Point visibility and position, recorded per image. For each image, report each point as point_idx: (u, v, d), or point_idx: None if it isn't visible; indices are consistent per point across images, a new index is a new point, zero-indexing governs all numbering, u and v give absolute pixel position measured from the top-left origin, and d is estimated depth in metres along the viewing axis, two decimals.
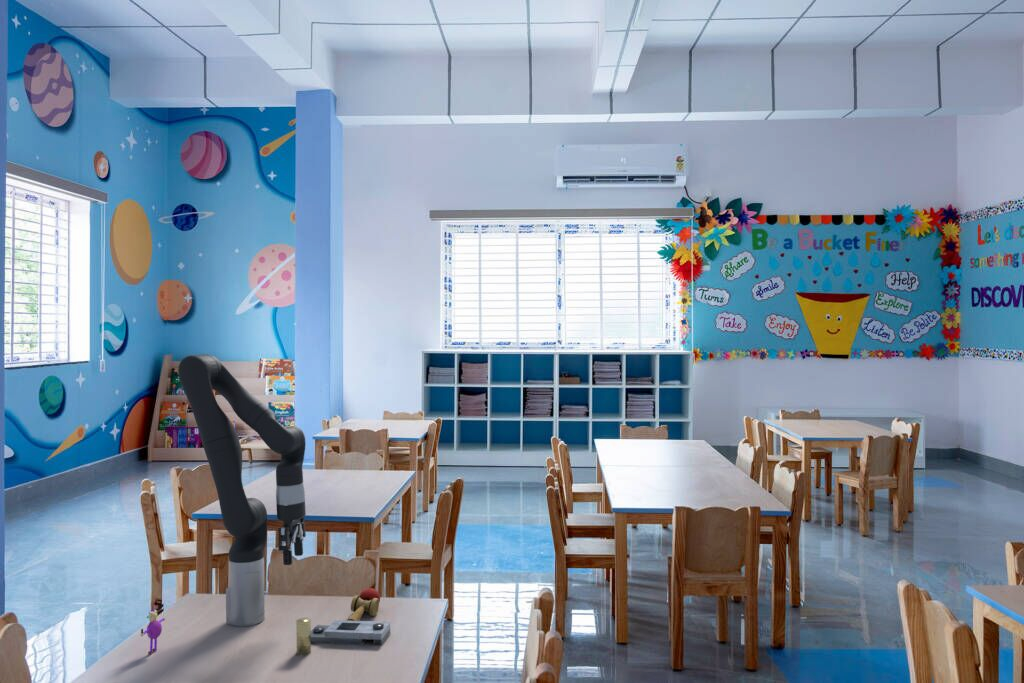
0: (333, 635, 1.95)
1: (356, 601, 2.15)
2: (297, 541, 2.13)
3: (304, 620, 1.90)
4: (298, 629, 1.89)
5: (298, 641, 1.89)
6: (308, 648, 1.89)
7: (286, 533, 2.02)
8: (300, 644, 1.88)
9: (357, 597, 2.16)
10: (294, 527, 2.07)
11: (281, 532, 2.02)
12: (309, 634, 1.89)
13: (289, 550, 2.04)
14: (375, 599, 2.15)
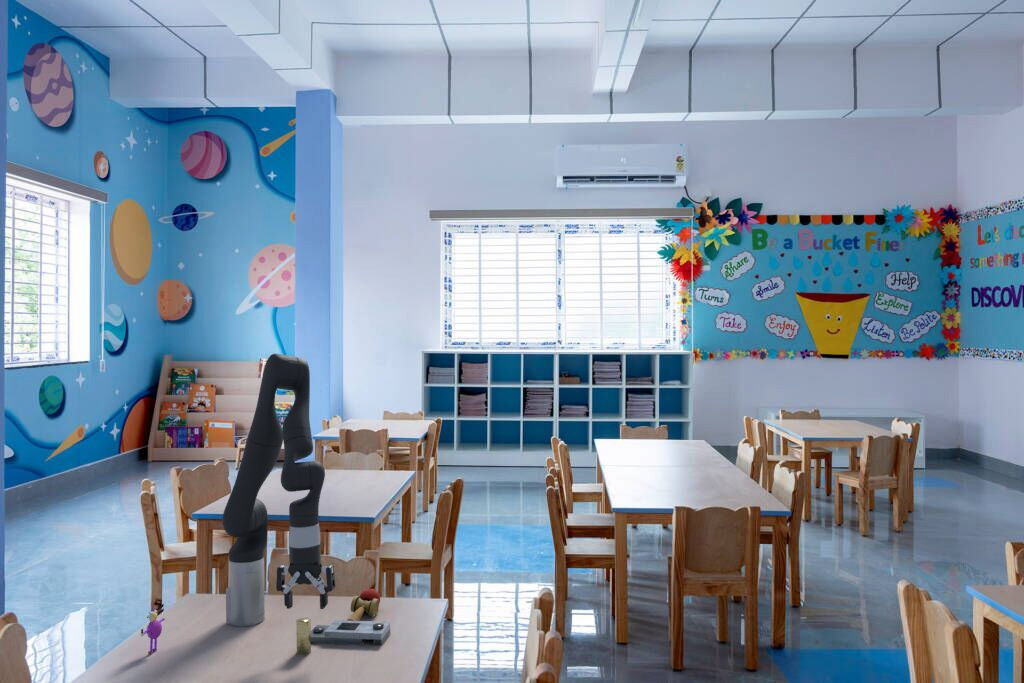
0: (333, 635, 1.95)
1: (356, 602, 2.14)
2: (290, 591, 1.91)
3: (304, 620, 1.90)
4: (298, 629, 1.89)
5: (298, 641, 1.89)
6: (308, 648, 1.89)
7: (333, 570, 1.91)
8: (300, 644, 1.88)
9: (357, 597, 2.15)
10: None
11: (331, 571, 1.89)
12: (309, 634, 1.89)
13: None
14: (375, 600, 2.15)
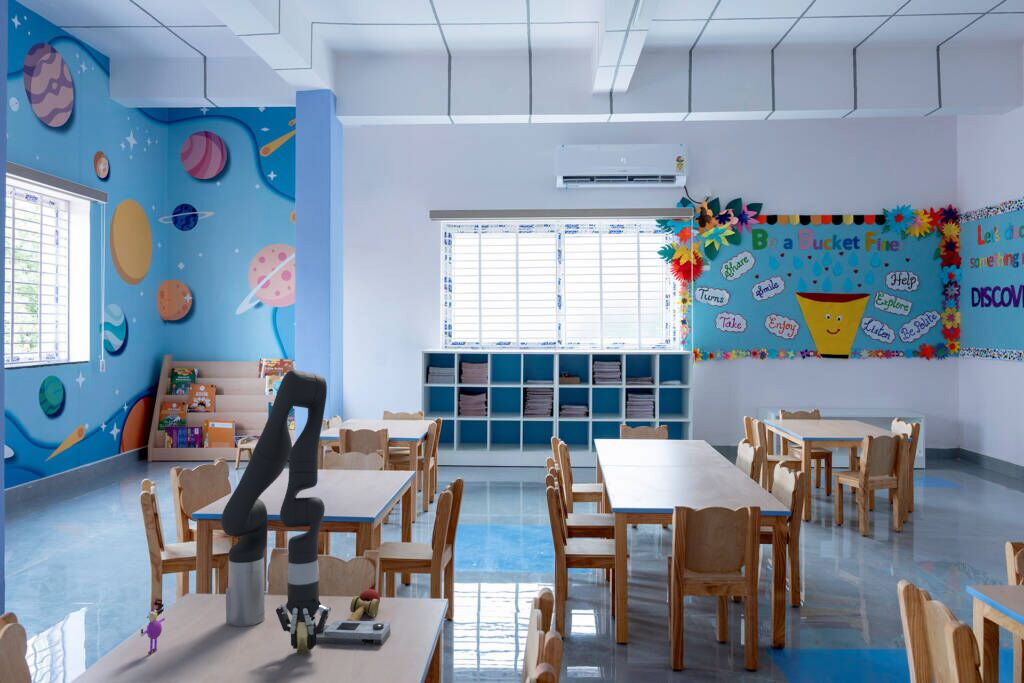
0: (333, 635, 1.95)
1: (356, 602, 2.14)
2: None
3: None
4: (298, 629, 1.89)
5: (298, 641, 1.89)
6: None
7: None
8: (299, 644, 1.88)
9: (357, 598, 2.15)
10: None
11: (327, 614, 1.89)
12: None
13: None
14: (375, 600, 2.14)
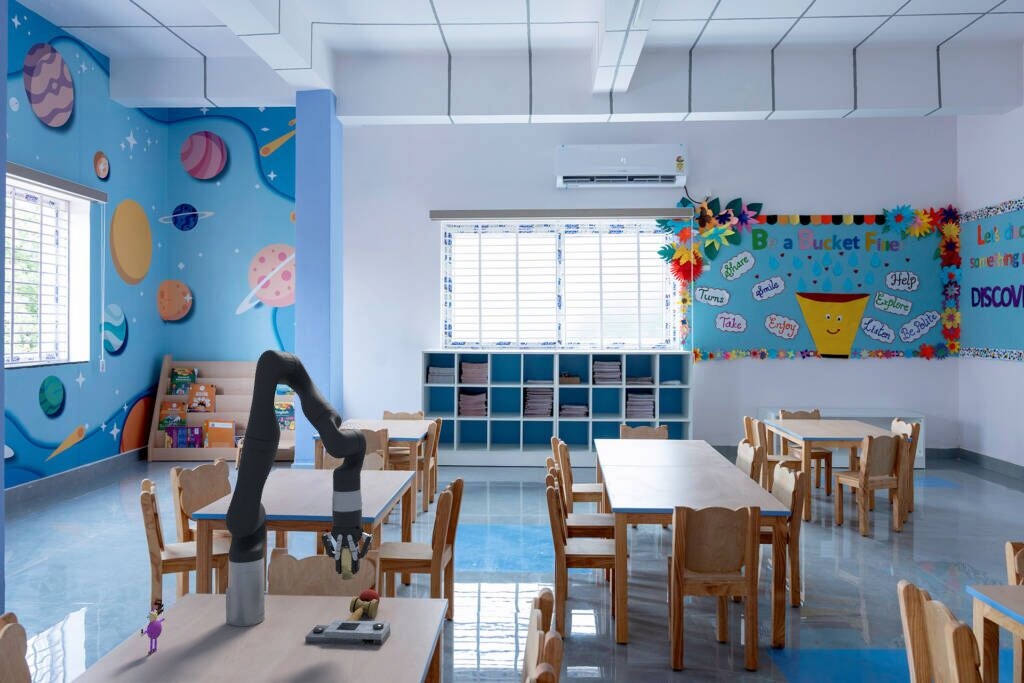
0: (333, 635, 1.95)
1: (355, 602, 2.14)
2: (340, 558, 1.99)
3: (348, 547, 1.98)
4: (342, 555, 1.97)
5: (342, 566, 1.97)
6: None
7: None
8: (344, 569, 1.97)
9: (356, 598, 2.15)
10: None
11: (370, 540, 1.98)
12: None
13: None
14: (374, 600, 2.14)
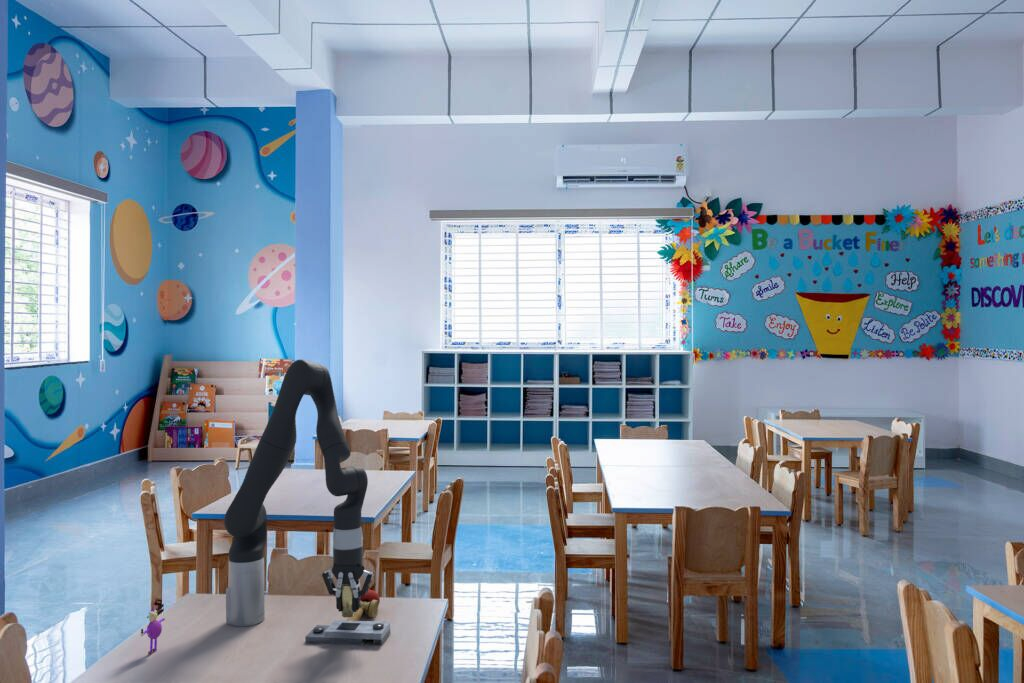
0: (333, 635, 1.95)
1: None
2: (341, 595, 1.99)
3: None
4: (343, 592, 1.98)
5: (343, 604, 1.98)
6: None
7: (372, 577, 1.99)
8: (345, 606, 1.97)
9: None
10: None
11: (371, 578, 1.98)
12: None
13: None
14: (374, 601, 2.14)
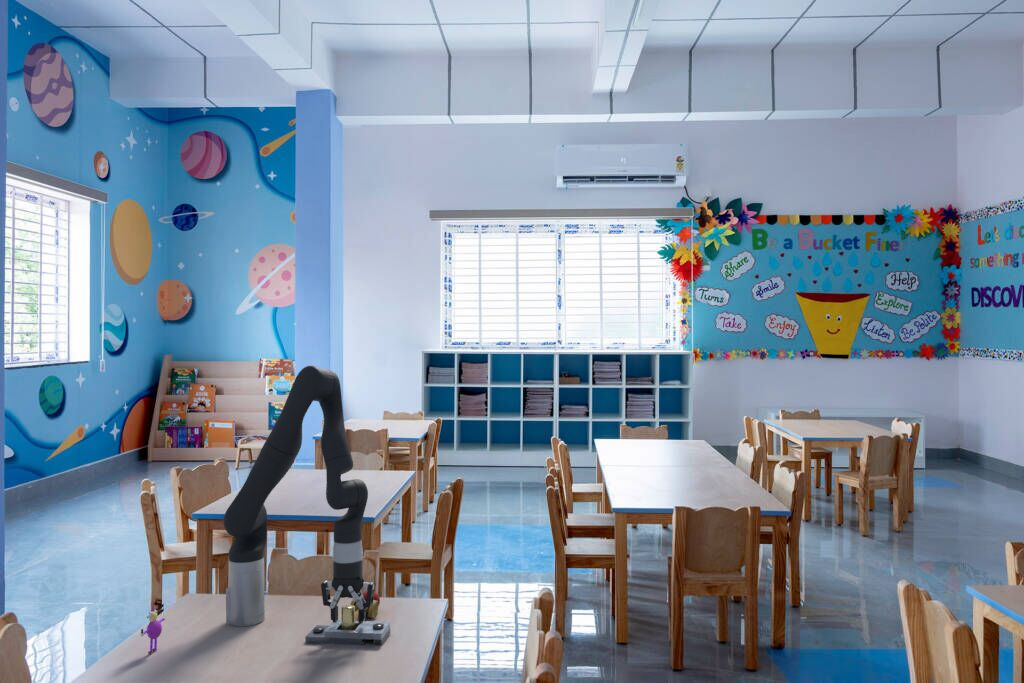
0: (333, 635, 1.95)
1: (355, 603, 2.13)
2: (336, 606, 1.99)
3: (349, 607, 1.99)
4: (343, 615, 1.98)
5: (343, 627, 1.98)
6: None
7: (374, 587, 1.99)
8: None
9: None
10: None
11: (372, 588, 1.98)
12: (354, 620, 1.98)
13: None
14: (374, 601, 2.13)
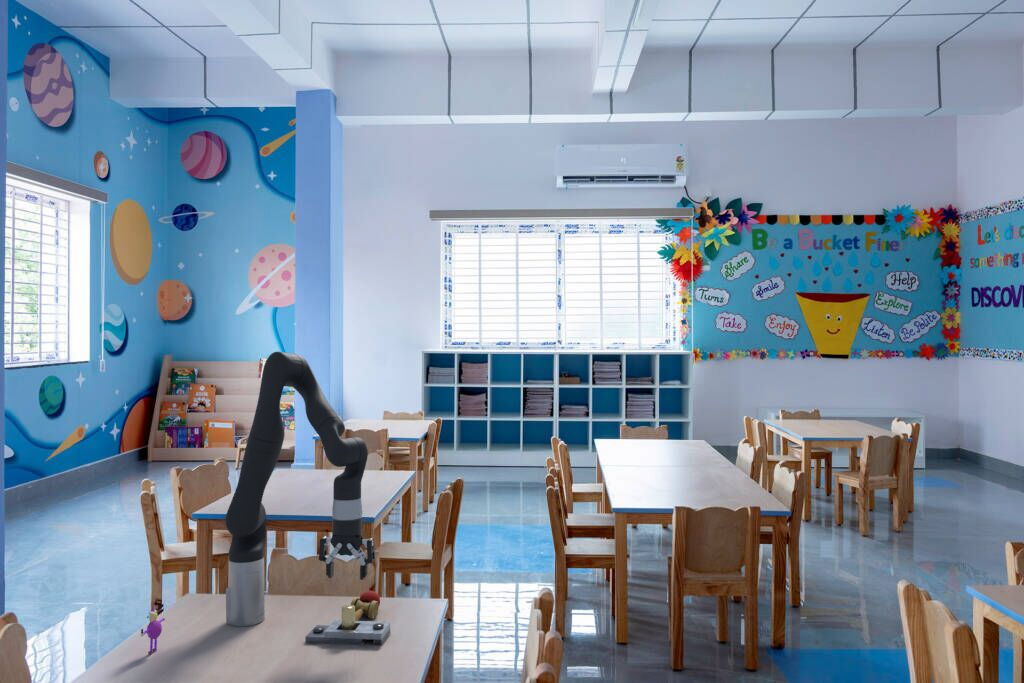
0: (333, 635, 1.95)
1: (355, 603, 2.13)
2: (331, 562, 1.99)
3: (349, 607, 1.99)
4: (343, 615, 1.98)
5: (343, 627, 1.98)
6: None
7: None
8: None
9: (356, 599, 2.14)
10: None
11: (372, 543, 1.97)
12: (354, 620, 1.98)
13: None
14: (374, 602, 2.13)
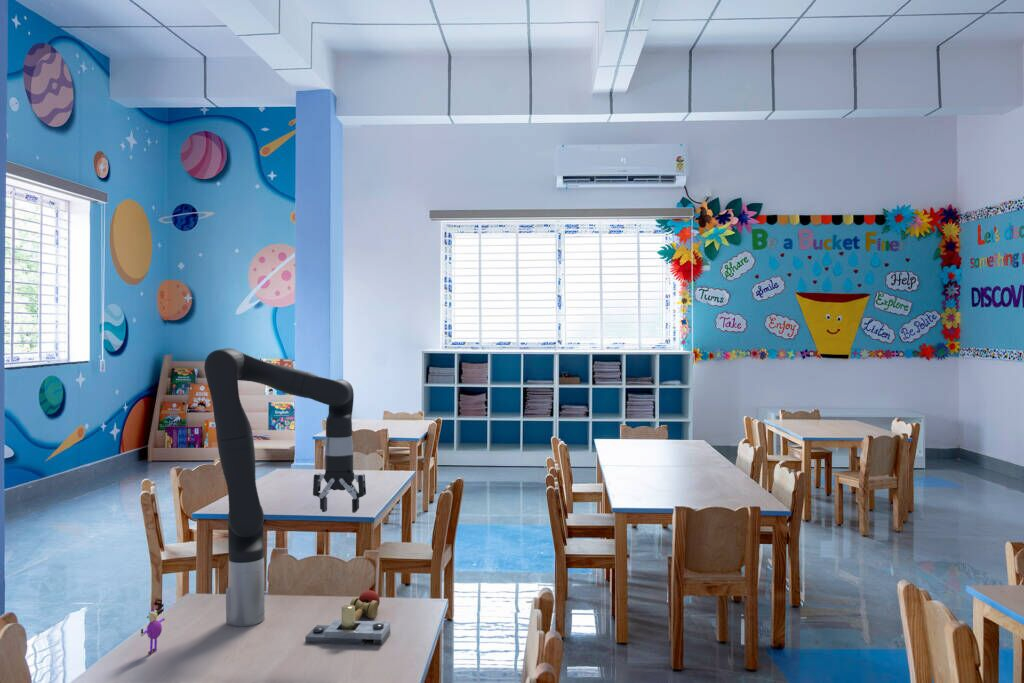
0: (333, 635, 1.95)
1: (355, 603, 2.13)
2: (325, 497, 2.11)
3: (349, 607, 1.99)
4: (343, 615, 1.98)
5: (343, 627, 1.98)
6: None
7: (364, 478, 2.11)
8: None
9: (356, 599, 2.14)
10: None
11: (363, 478, 2.09)
12: (354, 620, 1.98)
13: None
14: (374, 601, 2.13)
